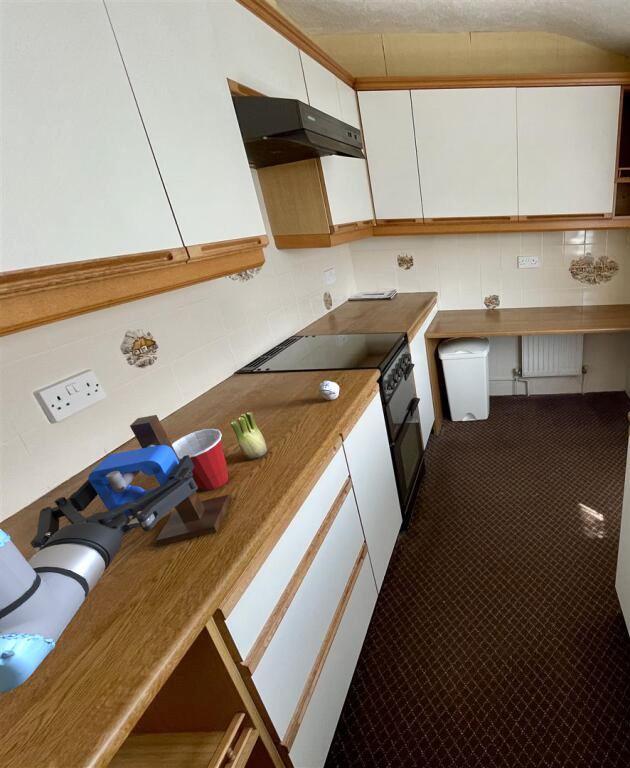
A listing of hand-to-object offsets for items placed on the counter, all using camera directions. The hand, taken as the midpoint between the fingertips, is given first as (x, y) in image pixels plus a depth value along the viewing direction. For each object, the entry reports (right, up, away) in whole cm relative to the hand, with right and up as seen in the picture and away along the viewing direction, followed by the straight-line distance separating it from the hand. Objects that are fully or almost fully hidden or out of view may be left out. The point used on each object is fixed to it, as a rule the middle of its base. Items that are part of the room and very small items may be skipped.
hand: (145, 470), depth 72 cm
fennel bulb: (-1, -4, +34) cm, 34 cm away
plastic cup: (-6, -8, +24) cm, 26 cm away
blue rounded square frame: (+1, -6, +1) cm, 6 cm away
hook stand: (+1, -15, +9) cm, 18 cm away
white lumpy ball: (+6, +10, +61) cm, 62 cm away
